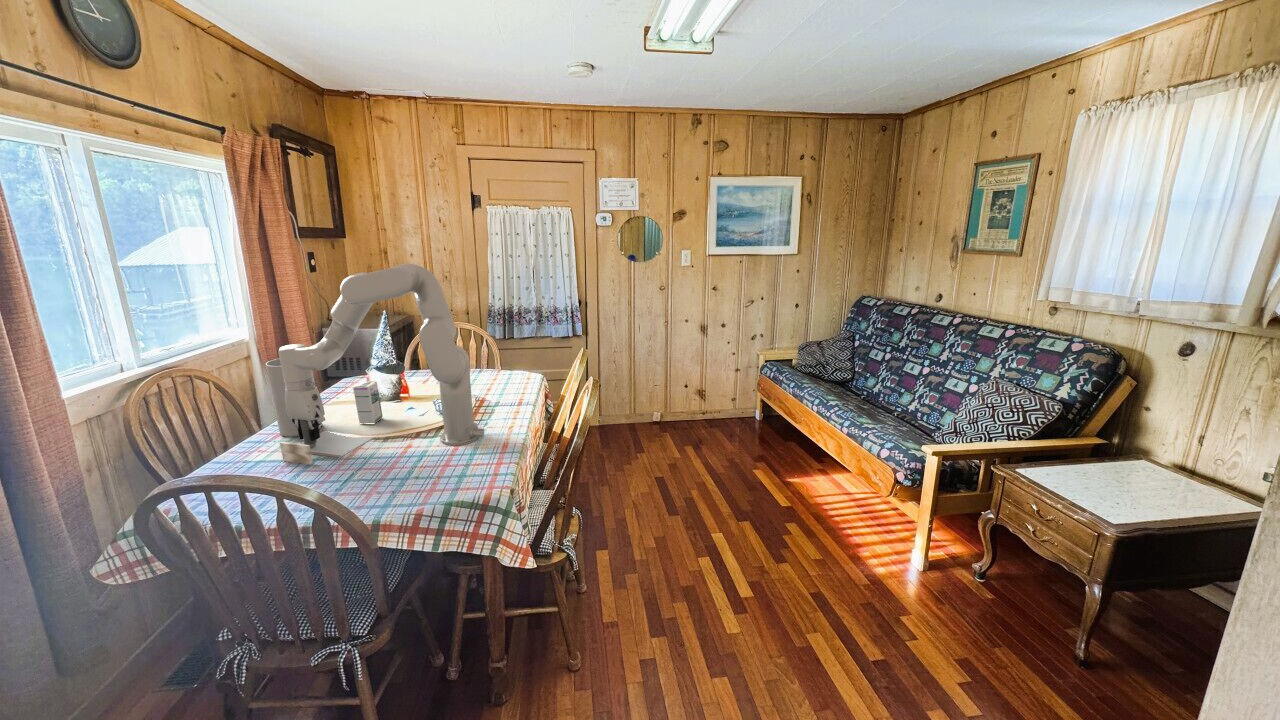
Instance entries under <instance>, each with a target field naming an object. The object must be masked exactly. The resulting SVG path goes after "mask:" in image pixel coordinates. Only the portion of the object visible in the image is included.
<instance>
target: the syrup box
mask: <svg viewBox="0 0 1280 720" xmlns="http://www.w3.org/2000/svg"><path fill="white" fill-rule="evenodd" d="M352 389H353V395H354V401H355V405H356V406H355V407H356V411H357V416H358V424H360V423H375V422H377V421H378V420H380V419H381V418H382V417H383V411H382V406H381V400H380V399H381V398H380V392H379V386H378V382H377V381H372V380H371V381H370V380H369V381H361V382H359V383H358V384H356V385H354V386H353V387H352ZM383 418H384V417H383ZM381 420H382V419H381ZM381 420H380V421H381ZM377 423H378V422H377Z"/></svg>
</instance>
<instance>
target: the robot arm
mask: <svg viewBox="0 0 1280 720" xmlns="http://www.w3.org/2000/svg"><path fill="white" fill-rule="evenodd" d="M339 288H340V290H339V292H340V296H339V298H338V299H337V301H336V303H335V304H334V306H333V307H332V309H331V310H330V316H331V318H332V319H331V324H330V326H329V328H328V330H327V332H326V333H325V334H324V336H323V338H322V339H321V340H320V341H319V342H317V343H315V344H312V345H311V346H309V347H308V346H306V345H305V344H303V343H302V344H300V343H294V344H293V343H292V344H287V345H284V346H281V347H279V349H278V356H279V357H278V358H280V363H281V368H282V373H283V378H284V383H285V388H286V389H285V403H286V409H287V414H288V415H287V418H288V419H290V420H291V421H292V422H293V423H294V424H295V427H296V428H298V434H299V436H298V438H299V441H304V440H303V435H302V429H301V424H300V420H307V421H308V424H309V427H310V429H309V435H310V440H311V441H314V440H316V439H318V438H320V433H321V432H320V429H319V426H320V424H321V423H322V424H323V423H324V421H326V417H325V414H326V413H325V408H324V403H323V399H322V397H321V394H320V392H319V389H318V387H317V386H316V381H315V379H314V380H313V375H314V374H313V375H312V370H313V371H322V370H326V369H328V368H329V367H330V366H332V365H333V364H334V363H335V362H337V361H338V360H340V359H341V358H342V356H343V355H344V354H345V352H346V351H347V349H348V348H349V346H350V344H351V343H352V342H353V339H354V338H355V336H356V334H357V332H358V330H359V327H360V325H361V323H362V322H363V320H364V319H365V317H366V316H367V314H368V312H369V311H370V309H371V308H372V306H373V305H374V303H378V302H381V301H386V300H391V299H396V298H401V297H403V296H406V295H408V294H410V293H412V294H413V295H414V298H415V303H416V306H417V309H418V311H419V314H420V317H421V320H422V325H421V326H420V329H419V332H418V337H419V344H420V347H421V350H422V352H423V354H424V356H425V357H424V359H426V363H427V365H428V367H429V371H430V373H431V375H432V376H433V378H434V379H435V380H436V381H437V382H439V383H438V384H439V394H440V404H441V413H442V421H443V428H444V429H443V430H444V432H443V433H441V435H440V438H439V440H440V442H441V443H442V444H443V445H444V444H445V445H446V446H447V445H448V446H461V445H466V444H470V443H473V442H475V441H477V440H478V439H479V438H481V437H482V438H483V437H484V436H485V428H481V427H478V423H476V422H475V421H474V419H475V418H474V410H473V400H472V399H473V397H472V387H471V365H470V364H471V363H470V357H469V354H468V352H467V351H466V350H465V349H464V348H463V347H462V346H459V345H457V344H456V342H455V337H456V335H457V325H456V323H455V320H454V318H453V316H452V313H451V310H450V307H449V304H448V302H447V300H446V297H445V295H444V294H445V293H444V292H443V289H442V286H441V284H440V282H439V280H438V279H437V277H436V276H435V275H434V274H433V273H432V272H431V271H430V270H429V269H427V268H425V267H423V266H421V265H417V264H413V263H400V264H397V265H395V266H393V267H389V268H385V269H381V270H376V271H371V272H359V273H354V274H352V275H349V276H347V277H346V278H344V279H343V280H342V282H341V284H340V287H339ZM314 381H315V382H314ZM315 386H316V387H315ZM312 421H314V423H313V422H312Z"/></svg>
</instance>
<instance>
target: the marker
mask: <svg viewBox="0 0 1280 720" xmlns="http://www.w3.org/2000/svg"><path fill="white" fill-rule="evenodd" d="M312 422H313V421H312ZM300 424H301V429H302V435H303V440H302V441H303V442H304V444H305V445H310V448H311V447H314V446H316V442H317V440H314V441H311V440H310V435H309V429H310V427H309V424H308V421H307V420H300Z"/></svg>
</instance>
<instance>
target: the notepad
mask: <svg viewBox="0 0 1280 720" xmlns="http://www.w3.org/2000/svg"><path fill="white" fill-rule="evenodd" d="M328 431H329V430H324V431H323V432H319V433H320V438H318V439H316V440H317V442H316V446H314V447H311V448H310V449H311V454H312V456H316V457H317V456H319V457H325V458H327V457H328V458H335V459H340V458H342V457H343V456H345V455H347V454H349V453H351V452H352V451H354V450H355V449H358V448H359V447H361V446H363V445H365V444H366V443H368V442H370V441H372V440H373V439H375V438H374V437H365V438H350V437H344V436H341V435H337V434H334V433H330V432H328ZM299 444H304V441H302V442H299Z"/></svg>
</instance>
